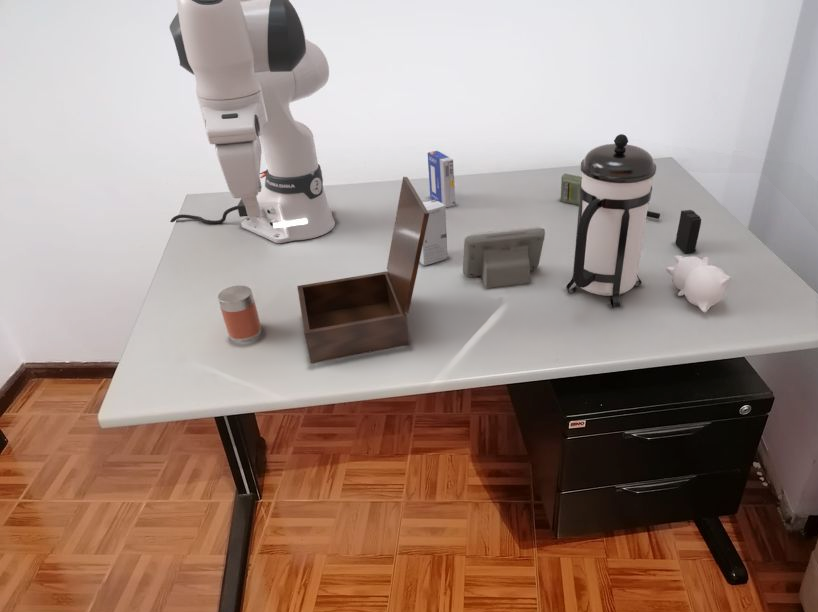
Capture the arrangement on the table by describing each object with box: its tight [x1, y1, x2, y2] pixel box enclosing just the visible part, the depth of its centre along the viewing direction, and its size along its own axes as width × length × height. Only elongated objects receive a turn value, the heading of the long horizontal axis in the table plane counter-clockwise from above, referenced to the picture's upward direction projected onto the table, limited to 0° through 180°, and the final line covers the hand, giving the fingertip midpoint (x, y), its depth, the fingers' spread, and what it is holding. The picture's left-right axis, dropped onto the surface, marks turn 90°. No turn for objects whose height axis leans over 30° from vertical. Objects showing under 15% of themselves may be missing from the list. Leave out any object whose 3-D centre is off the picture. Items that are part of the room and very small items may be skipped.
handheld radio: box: [560, 172, 661, 220], centre depth 152 cm, size 7×3×25 cm
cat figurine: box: [665, 254, 732, 313], centre depth 119 cm, size 9×11×12 cm
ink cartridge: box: [675, 209, 702, 254], centre depth 135 cm, size 5×2×8 cm, turn 10°
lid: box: [386, 176, 429, 314], centre depth 107 cm, size 18×16×1 cm
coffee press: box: [565, 133, 657, 308], centre depth 115 cm, size 17×16×30 cm
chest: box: [296, 270, 410, 364], centre depth 112 cm, size 17×16×7 cm
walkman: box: [427, 150, 456, 208], centre depth 156 cm, size 8×3×12 cm, turn 32°
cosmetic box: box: [419, 199, 449, 266], centre depth 132 cm, size 6×4×12 cm
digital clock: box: [462, 226, 546, 289], centre depth 126 cm, size 16×9×11 cm, turn 89°
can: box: [217, 285, 263, 343], centre depth 111 cm, size 6×6×9 cm
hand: (255, 202), depth 100 cm, fingers open, 8 cm apart
